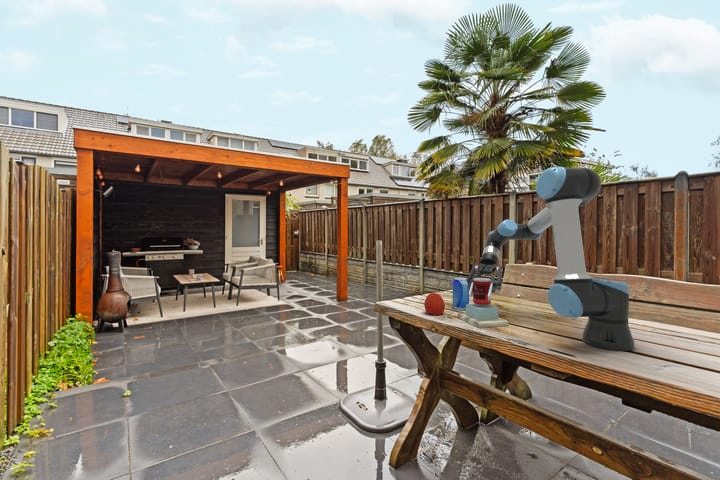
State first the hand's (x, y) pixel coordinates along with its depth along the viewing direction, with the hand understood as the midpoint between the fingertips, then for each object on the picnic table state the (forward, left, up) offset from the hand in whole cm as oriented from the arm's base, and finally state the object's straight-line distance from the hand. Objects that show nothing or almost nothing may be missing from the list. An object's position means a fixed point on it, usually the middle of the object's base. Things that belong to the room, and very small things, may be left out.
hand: (479, 296), depth 149 cm
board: (+2, -3, -12) cm, 12 cm away
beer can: (+27, -7, -12) cm, 30 cm away
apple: (+21, +11, -12) cm, 27 cm away
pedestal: (+2, -3, -10) cm, 10 cm away
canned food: (+2, -3, -4) cm, 5 cm away
